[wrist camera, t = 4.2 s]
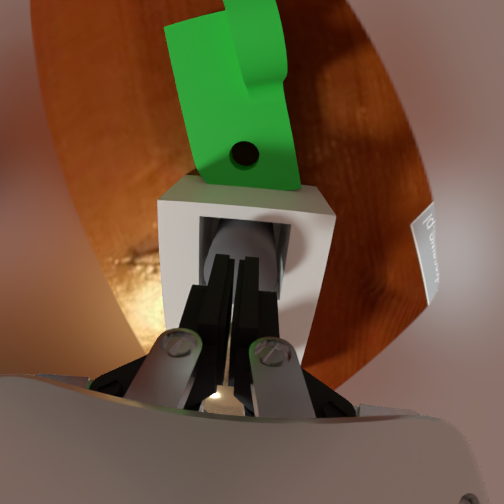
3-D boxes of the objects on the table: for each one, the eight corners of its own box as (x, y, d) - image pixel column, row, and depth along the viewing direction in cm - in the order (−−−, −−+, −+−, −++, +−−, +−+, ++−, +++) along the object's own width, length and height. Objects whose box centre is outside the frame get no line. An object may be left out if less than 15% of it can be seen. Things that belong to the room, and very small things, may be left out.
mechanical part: (172, 34, 16) (124, -4, 8) (261, 13, 15) (262, -42, 8) (210, 198, 20) (183, 246, 13) (297, 181, 20) (319, 221, 13)
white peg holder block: (184, 174, 20) (157, 200, 15) (316, 186, 20) (336, 215, 15) (189, 368, 28) (178, 416, 23) (279, 376, 29) (281, 425, 23)
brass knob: (211, 309, 20) (195, 378, 14) (265, 314, 20) (266, 385, 14) (210, 347, 21) (198, 414, 16) (260, 352, 21) (259, 420, 16)
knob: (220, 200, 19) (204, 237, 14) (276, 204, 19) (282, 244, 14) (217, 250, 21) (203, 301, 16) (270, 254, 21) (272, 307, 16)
